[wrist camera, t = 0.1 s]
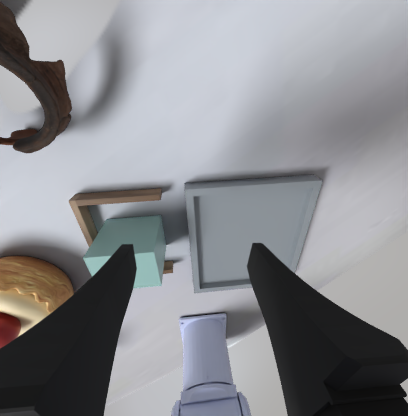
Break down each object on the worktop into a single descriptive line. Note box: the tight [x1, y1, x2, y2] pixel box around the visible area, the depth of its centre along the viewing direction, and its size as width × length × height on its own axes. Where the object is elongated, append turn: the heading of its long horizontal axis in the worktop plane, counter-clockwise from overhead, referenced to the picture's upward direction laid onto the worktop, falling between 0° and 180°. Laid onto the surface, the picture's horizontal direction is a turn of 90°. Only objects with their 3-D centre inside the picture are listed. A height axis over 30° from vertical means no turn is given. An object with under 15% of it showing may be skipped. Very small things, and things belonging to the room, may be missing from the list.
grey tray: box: [185, 175, 323, 293], centre depth 24 cm, size 16×14×2 cm
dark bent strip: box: [69, 188, 173, 274], centre depth 22 cm, size 11×9×2 cm
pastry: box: [0, 256, 74, 348], centre depth 22 cm, size 12×12×9 cm
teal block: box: [83, 215, 166, 288], centre depth 20 cm, size 4×6×6 cm
